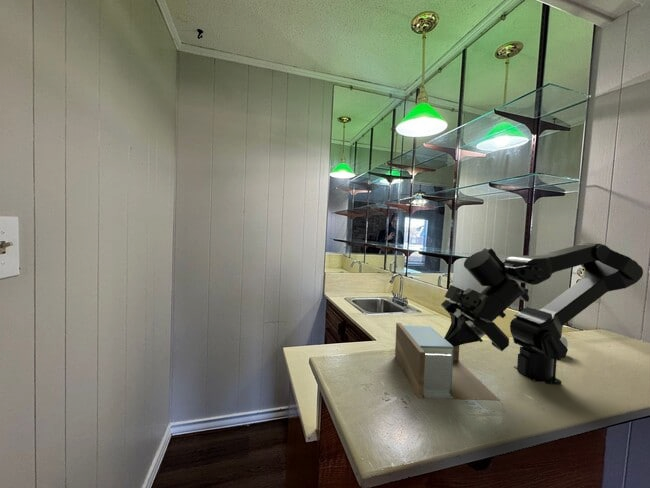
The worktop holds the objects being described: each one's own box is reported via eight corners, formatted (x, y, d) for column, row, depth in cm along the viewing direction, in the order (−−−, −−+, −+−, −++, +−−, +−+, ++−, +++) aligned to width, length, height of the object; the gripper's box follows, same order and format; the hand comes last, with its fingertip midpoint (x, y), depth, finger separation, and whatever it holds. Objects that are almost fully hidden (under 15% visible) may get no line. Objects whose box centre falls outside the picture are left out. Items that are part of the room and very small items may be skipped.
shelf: (456, 360, 68) (458, 324, 68) (500, 403, 51) (502, 354, 51) (394, 359, 68) (396, 322, 68) (417, 400, 51) (420, 352, 51)
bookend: (447, 392, 53) (449, 353, 53) (452, 398, 51) (454, 358, 51) (420, 391, 53) (422, 352, 53) (424, 397, 51) (426, 357, 51)
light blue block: (428, 361, 66) (430, 326, 66) (451, 389, 54) (453, 346, 54) (400, 360, 66) (402, 325, 66) (417, 388, 54) (419, 345, 54)
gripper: (450, 268, 69) (406, 309, 69) (496, 281, 50) (436, 337, 50) (479, 299, 69) (435, 339, 69) (535, 323, 50) (475, 378, 51)
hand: (443, 346), depth 60 cm, fingers closed
